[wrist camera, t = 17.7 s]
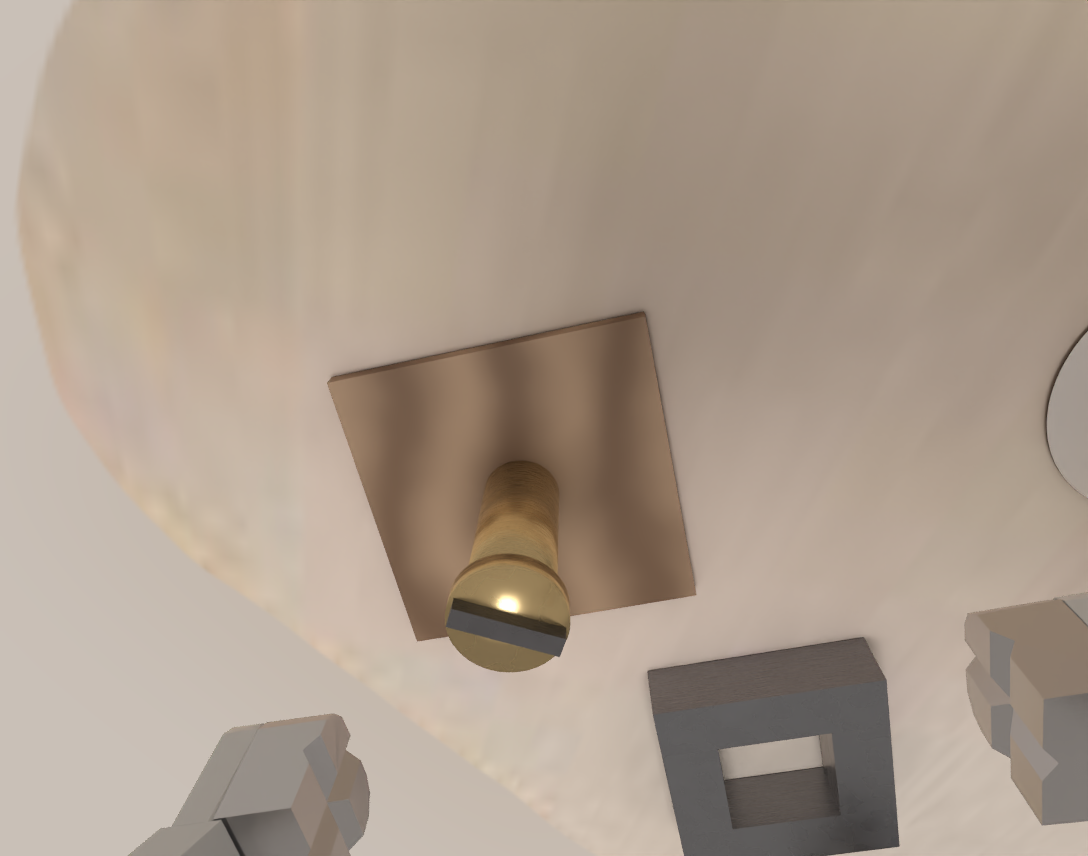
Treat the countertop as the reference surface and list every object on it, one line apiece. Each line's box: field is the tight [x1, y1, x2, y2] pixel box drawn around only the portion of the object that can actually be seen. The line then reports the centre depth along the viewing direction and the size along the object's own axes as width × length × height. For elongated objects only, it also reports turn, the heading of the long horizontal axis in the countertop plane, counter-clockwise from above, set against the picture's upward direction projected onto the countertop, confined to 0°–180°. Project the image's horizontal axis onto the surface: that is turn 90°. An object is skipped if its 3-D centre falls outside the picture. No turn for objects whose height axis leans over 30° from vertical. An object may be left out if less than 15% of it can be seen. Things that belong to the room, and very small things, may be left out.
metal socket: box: [648, 638, 899, 856], centre depth 52 cm, size 14×14×4 cm
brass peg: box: [445, 460, 570, 672], centre depth 40 cm, size 6×6×13 cm
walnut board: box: [327, 312, 696, 641], centre depth 47 cm, size 18×18×1 cm
